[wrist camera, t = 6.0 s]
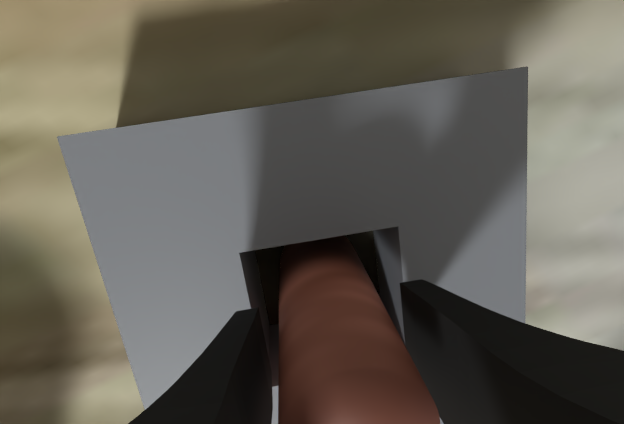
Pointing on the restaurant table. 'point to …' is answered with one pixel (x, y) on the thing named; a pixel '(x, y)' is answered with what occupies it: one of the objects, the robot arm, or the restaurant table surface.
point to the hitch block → (303, 206)
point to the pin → (341, 344)
